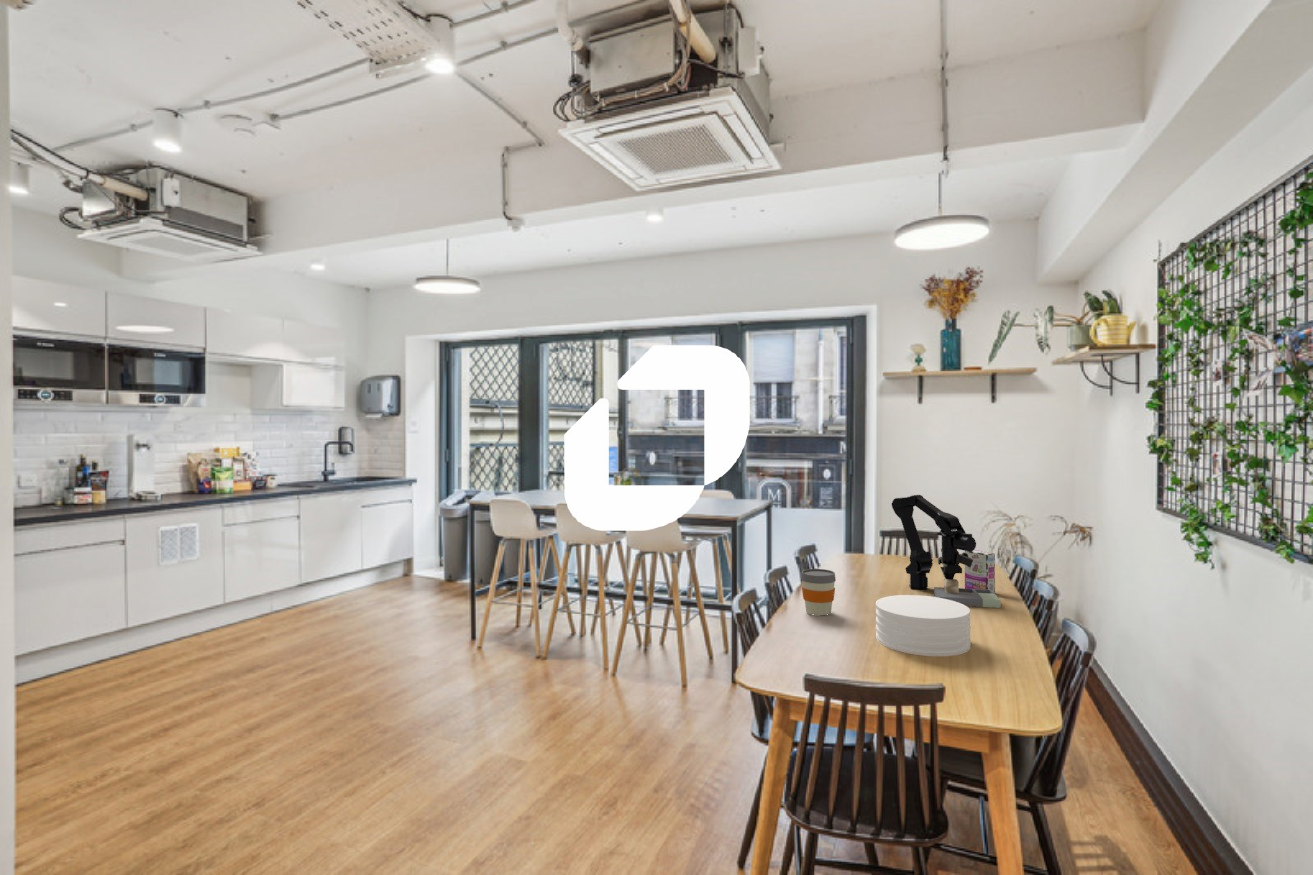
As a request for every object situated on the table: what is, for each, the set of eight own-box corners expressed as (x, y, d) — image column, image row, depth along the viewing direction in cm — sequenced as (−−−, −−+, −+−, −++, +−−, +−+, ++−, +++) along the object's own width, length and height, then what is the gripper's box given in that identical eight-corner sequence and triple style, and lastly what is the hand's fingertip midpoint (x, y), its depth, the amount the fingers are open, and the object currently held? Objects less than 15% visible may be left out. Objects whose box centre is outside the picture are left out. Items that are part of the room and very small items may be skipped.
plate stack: (912, 661, 193) (912, 622, 193) (858, 632, 220) (858, 598, 220) (991, 651, 200) (991, 614, 200) (930, 625, 227) (929, 592, 227)
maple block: (946, 592, 258) (946, 581, 258) (944, 589, 263) (944, 578, 263) (958, 593, 257) (958, 581, 257) (956, 590, 262) (956, 579, 262)
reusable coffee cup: (832, 608, 250) (832, 568, 249) (838, 617, 237) (838, 576, 237) (799, 607, 251) (798, 568, 251) (803, 617, 238) (803, 576, 238)
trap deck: (940, 604, 252) (940, 596, 252) (934, 594, 268) (934, 587, 268) (1000, 607, 247) (1000, 600, 247) (990, 597, 262) (990, 589, 262)
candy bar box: (995, 593, 268) (995, 553, 268) (987, 594, 266) (987, 554, 266) (972, 587, 279) (972, 548, 278) (964, 588, 276) (963, 549, 276)
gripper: (976, 552, 253) (976, 593, 253) (966, 544, 271) (966, 581, 271) (945, 551, 256) (945, 591, 256) (937, 543, 274) (937, 580, 274)
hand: (949, 586), depth 264 cm, fingers closed
